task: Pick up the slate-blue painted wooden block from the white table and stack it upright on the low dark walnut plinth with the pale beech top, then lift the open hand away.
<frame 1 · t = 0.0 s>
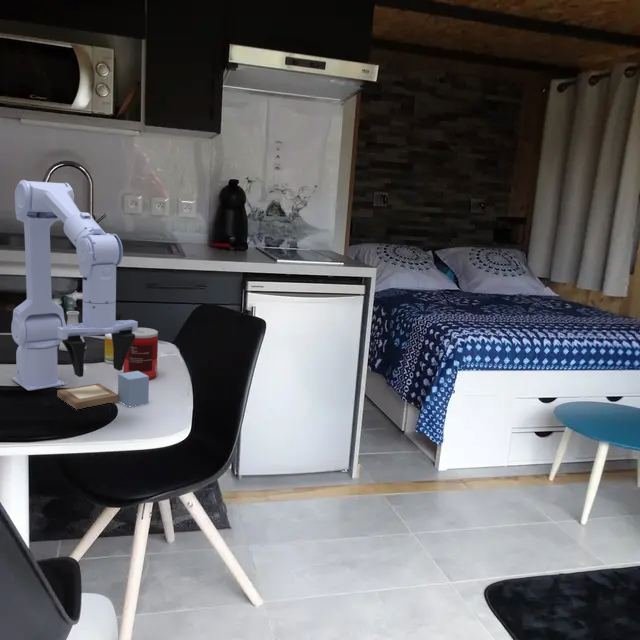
hand: (98, 372, 118), 10 cm above the table, tool pointing down, fingers open, 7 cm apart
flask: (72, 349, 168), on the table
block: (133, 402, 133), on the table
canned food: (140, 377, 150), on the table
plinth: (88, 399, 132), on the table
supplement bottle: (115, 362, 160), on the table
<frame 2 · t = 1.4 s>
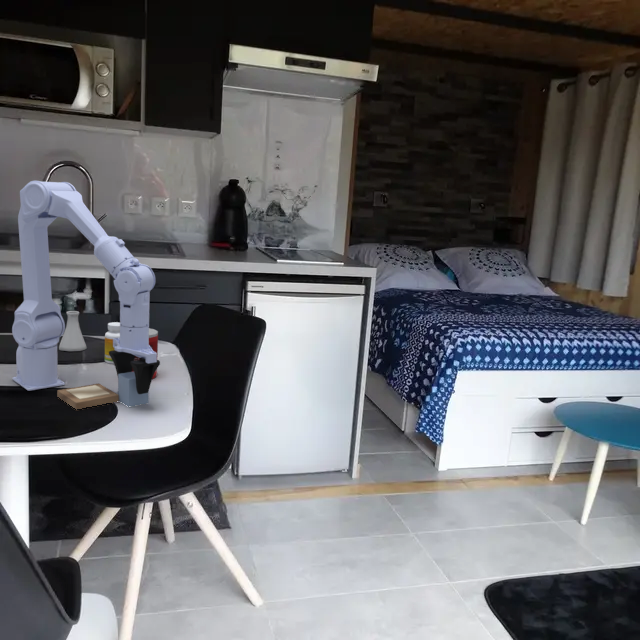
hand: (133, 388, 132), 3 cm above the table, tool pointing down, fingers open, 7 cm apart
nothing on the table moved.
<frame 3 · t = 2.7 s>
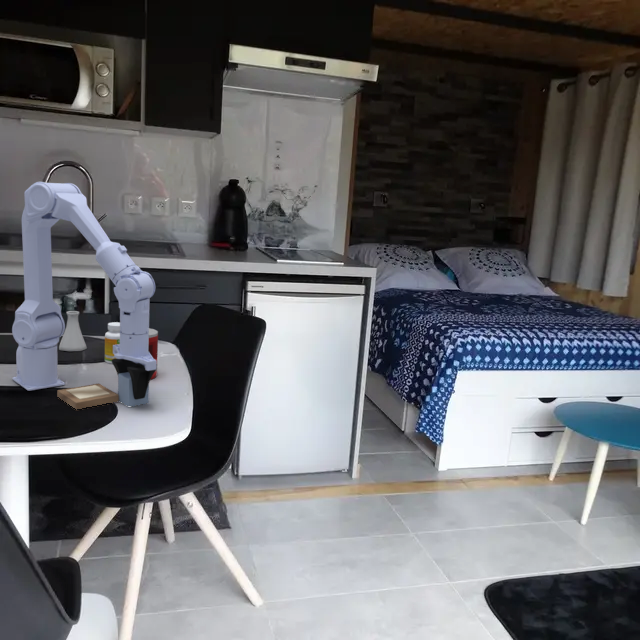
hand: (133, 394, 132), 2 cm above the table, tool pointing down, fingers closed on block, 4 cm apart
block: (133, 402, 133), on the table, touching gripper
everything else where it was.
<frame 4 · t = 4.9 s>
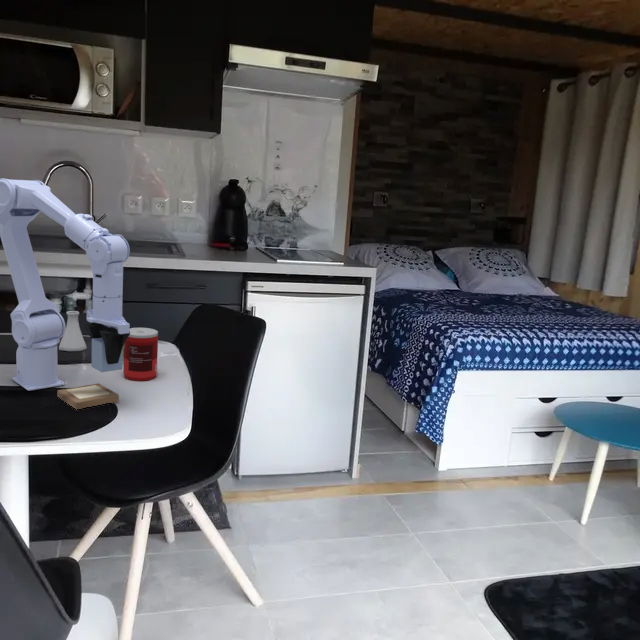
hand: (106, 360, 130), 9 cm above the table, tool pointing down, fingers closed on block, 4 cm apart
block: (106, 368, 131), point 7 cm above the table, touching gripper
everything else where it was.
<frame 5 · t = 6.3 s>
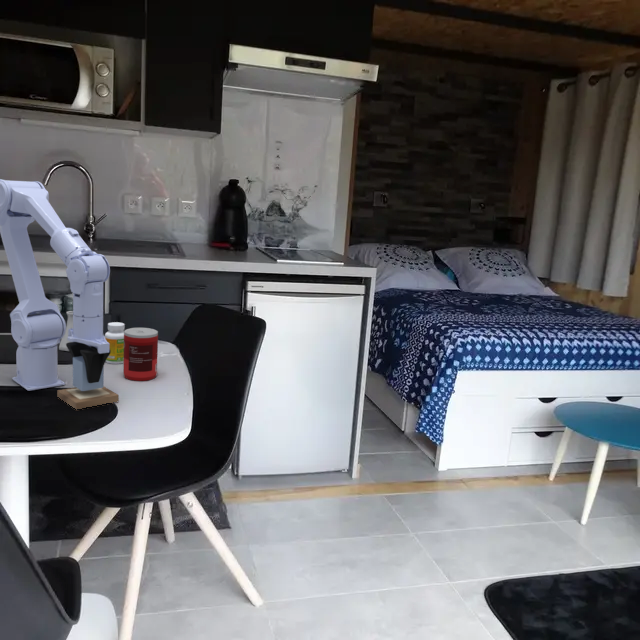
hand: (88, 378, 131), 5 cm above the table, tool pointing down, fingers closed on block, 4 cm apart
block: (88, 386, 131), point 3 cm above the table, touching gripper
everything else where it was.
when the fingers open (5 cm above the table, at t = 7.4 s): block drops 1 cm, resting on plinth.
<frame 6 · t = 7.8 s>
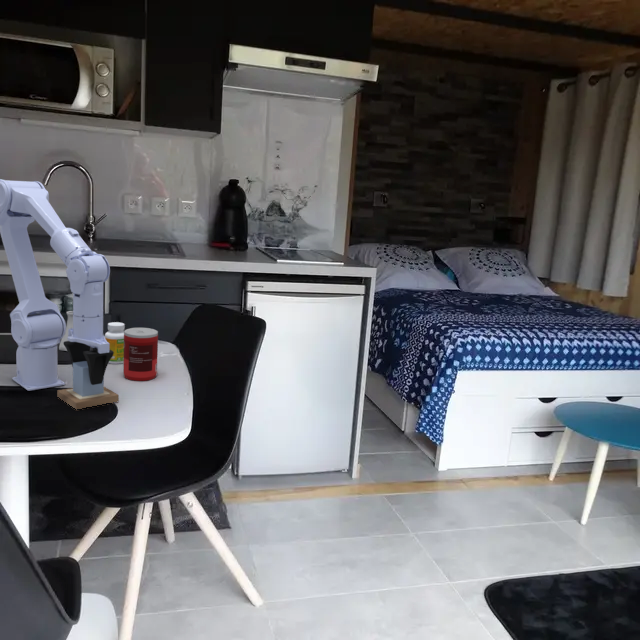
hand: (88, 378, 131), 5 cm above the table, tool pointing down, fingers open, 7 cm apart
block: (88, 391, 132), point 2 cm above the table, touching plinth
everything else where it was.
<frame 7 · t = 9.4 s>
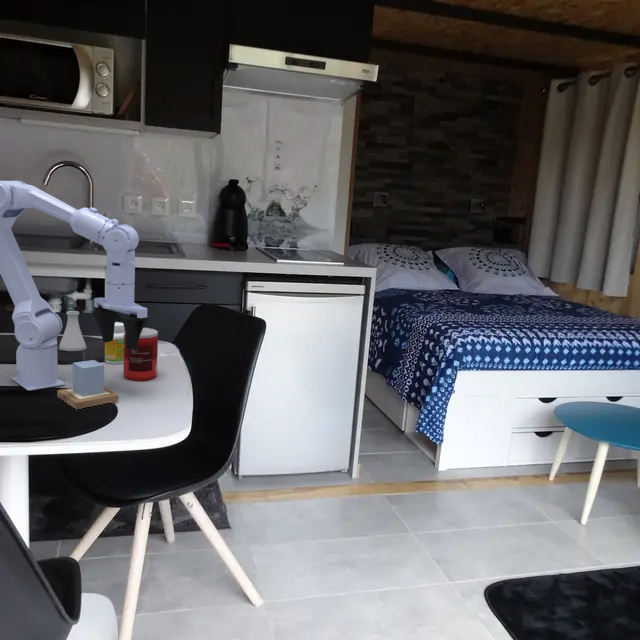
hand: (119, 344, 137), 10 cm above the table, tool pointing down, fingers open, 7 cm apart
nothing on the table moved.
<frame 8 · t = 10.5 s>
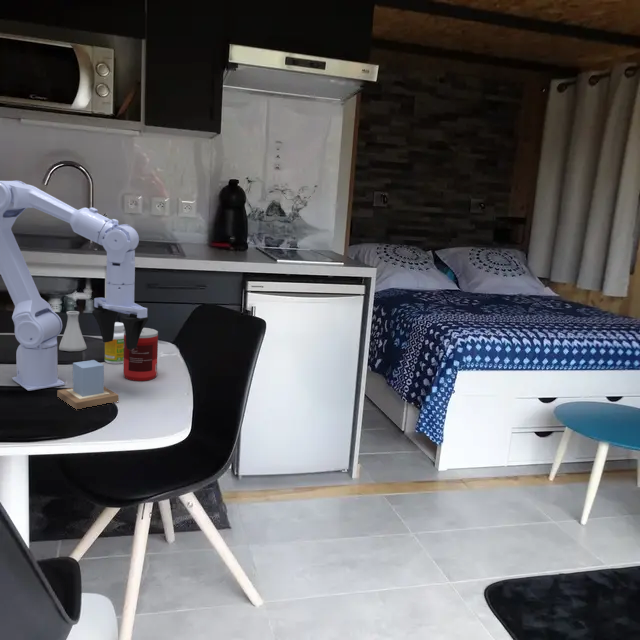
hand: (119, 344, 137), 10 cm above the table, tool pointing down, fingers open, 7 cm apart
nothing on the table moved.
at the end: block 0.0 cm off-centre on the plinth, point 1.8 cm above the plinth's base; block tilted 0°; the gripper is holding nothing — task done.
